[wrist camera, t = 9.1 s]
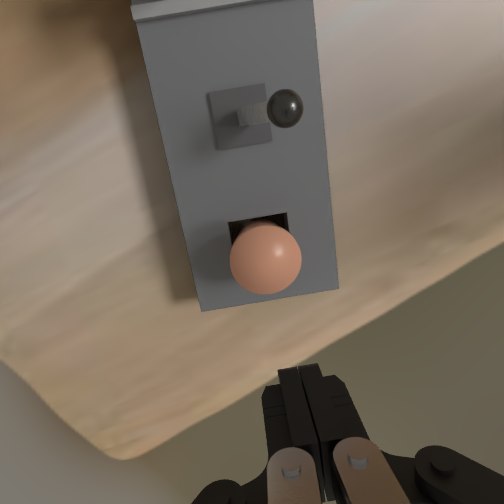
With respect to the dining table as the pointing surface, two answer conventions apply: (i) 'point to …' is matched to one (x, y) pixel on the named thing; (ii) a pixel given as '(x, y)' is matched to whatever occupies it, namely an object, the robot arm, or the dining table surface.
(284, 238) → the button
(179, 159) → the panel
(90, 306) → the dining table surface
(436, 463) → the robot arm
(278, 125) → the toggle
